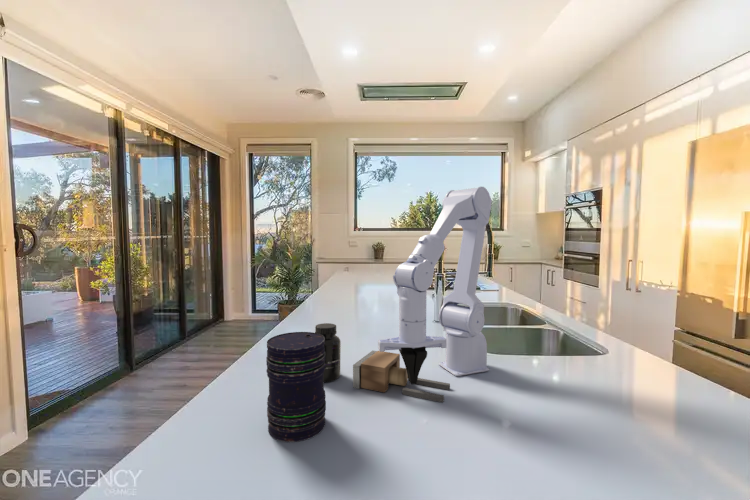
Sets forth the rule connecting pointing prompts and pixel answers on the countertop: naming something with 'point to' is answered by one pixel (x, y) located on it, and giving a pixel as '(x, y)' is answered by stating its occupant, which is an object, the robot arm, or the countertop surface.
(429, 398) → the guide rails
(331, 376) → the supplement bottle
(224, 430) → the countertop surface
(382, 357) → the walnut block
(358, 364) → the steel backstop wall
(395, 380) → the oak dowel
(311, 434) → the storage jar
